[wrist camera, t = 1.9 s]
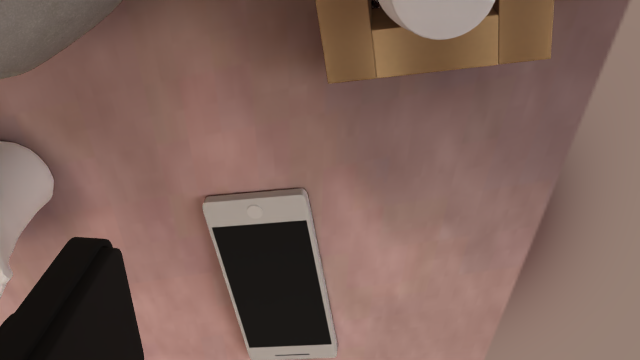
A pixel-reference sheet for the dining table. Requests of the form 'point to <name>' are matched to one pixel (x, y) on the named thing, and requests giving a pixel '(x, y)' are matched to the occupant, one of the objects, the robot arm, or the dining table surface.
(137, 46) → the dining table surface
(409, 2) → the pill bottle
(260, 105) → the dining table surface
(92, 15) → the planter
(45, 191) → the cup
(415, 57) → the frame
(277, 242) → the smartphone
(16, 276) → the dining table surface
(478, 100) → the dining table surface
